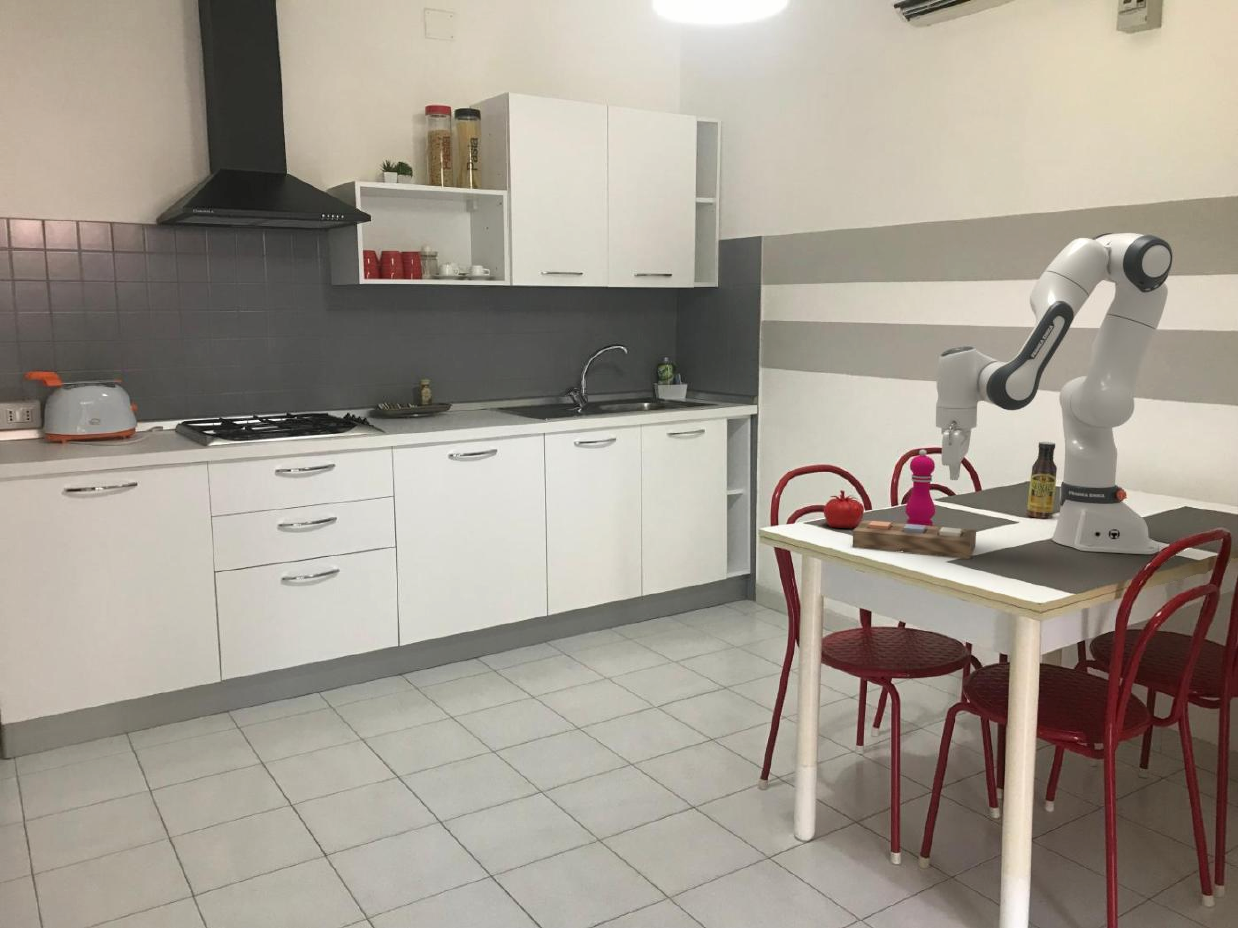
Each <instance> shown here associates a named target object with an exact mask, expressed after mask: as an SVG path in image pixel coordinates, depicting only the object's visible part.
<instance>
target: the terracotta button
mask: <svg viewBox="0 0 1238 928" xmlns="http://www.w3.org/2000/svg"><path fill="white" fill-rule="evenodd" d="M871 521H872V522H871V523H870V524H869V529H879V530H890V529H891V523H892V522H891V521H878V520H871Z"/></svg>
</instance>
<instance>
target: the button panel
mask: <svg viewBox="0 0 1238 928" xmlns="http://www.w3.org/2000/svg"><path fill="white" fill-rule="evenodd" d="M862 520H863V521H861V522H860V523H859V524H858V525H857V526H855V527H854V529H852V548H856V547H859V548H858V549H868V550H878V551H885V552H886V551H887V552H896V551H903V552H902V553H905V552H911V553H910V554H915V553H920V554H919V555H925V554H926V555H928V556H937V557H944V558H945V557H946V558H955V559H964V560H965V559H968V560H970V558H971V557H972V555H973V552H974V551H975V549H976V543H977V542H976V541H977V529H965V528H961V529H962V536H961V537H953V536H943V535H939V531H940V529H941V528H942V527H943V526H934V525H933V526H926V532H925V534H921V533H911V532H903V528H904V527H905V525H906V524H907V523H900V522H891V529H890V530H879V529H869V524H870V523H871V522H872V521H873V520H866V519H862Z"/></svg>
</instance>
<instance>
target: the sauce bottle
mask: <svg viewBox="0 0 1238 928" xmlns="http://www.w3.org/2000/svg"><path fill="white" fill-rule="evenodd" d="M1037 447H1038V456H1037V458H1036V459H1035V461H1034V463H1033V465H1032V466H1031V476H1030V481H1029V491H1028V498H1027V499H1028V500H1027V507H1026V508H1027V512H1026V513H1027V515H1028V516H1029V517H1032V518H1035V519H1049V518H1052V515H1053V510H1054V500H1055V492H1056V484H1057V483H1056V482H1057V470H1058V468H1057V465H1056V463H1055V461H1054V454H1055V449H1056V443H1055V442H1049V441H1039V442H1038V446H1037Z"/></svg>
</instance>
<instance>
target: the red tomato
mask: <svg viewBox="0 0 1238 928" xmlns="http://www.w3.org/2000/svg"><path fill="white" fill-rule="evenodd" d="M839 493H840V494H839V496H838V495H830V498H831V499H830V500H828V501H827V502H826V503H825V505H824V508H823V515H824V518H825V522H826V524H827V526H828V527H832V528H836V529H837V528H839V529H853V528H854V529H855V528H856V527H857V526H858V525H859V524H860V523H861V522H862V520H864V511H865V507H864V505H863V504H862V503H861V502H860V501H858V500H859V498H856V497H854V496H853V495H848V496H845V490H840V491H839Z"/></svg>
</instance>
